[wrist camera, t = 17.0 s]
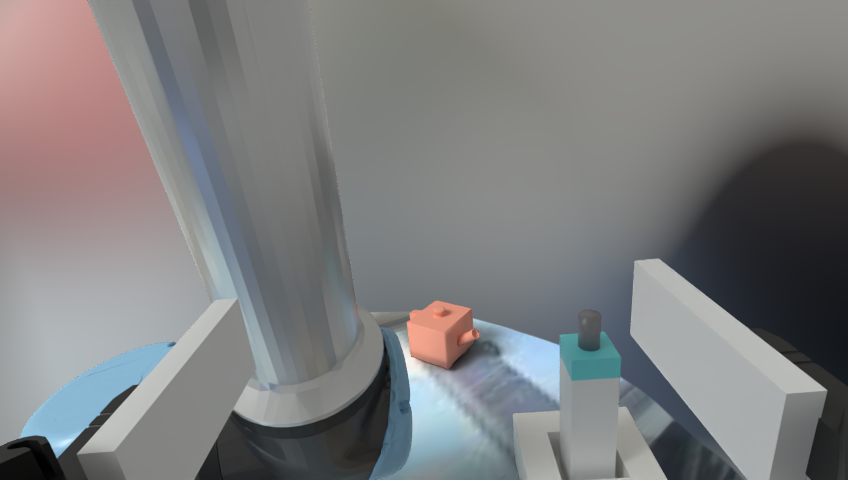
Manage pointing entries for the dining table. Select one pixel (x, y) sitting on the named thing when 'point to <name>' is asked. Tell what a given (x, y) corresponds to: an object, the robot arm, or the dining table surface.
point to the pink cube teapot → (441, 333)
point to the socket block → (541, 448)
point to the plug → (588, 401)
